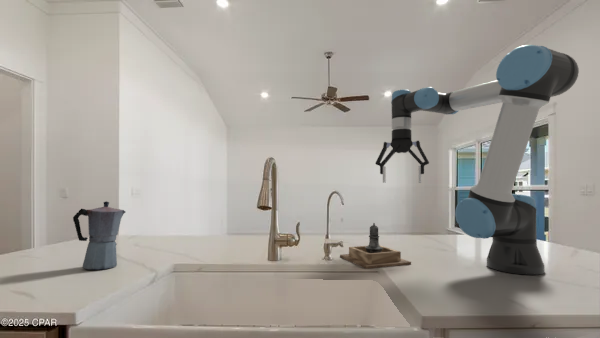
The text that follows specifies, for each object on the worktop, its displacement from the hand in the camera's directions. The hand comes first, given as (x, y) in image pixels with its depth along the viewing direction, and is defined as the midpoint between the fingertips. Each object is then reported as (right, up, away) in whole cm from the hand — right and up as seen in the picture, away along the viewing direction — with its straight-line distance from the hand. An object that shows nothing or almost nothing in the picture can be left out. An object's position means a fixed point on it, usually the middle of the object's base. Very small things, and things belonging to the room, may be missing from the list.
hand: (401, 182), depth 129 cm
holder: (-15, -26, -18) cm, 35 cm away
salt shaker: (-15, -25, -18) cm, 34 cm away
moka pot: (-101, -25, -30) cm, 109 cm away
